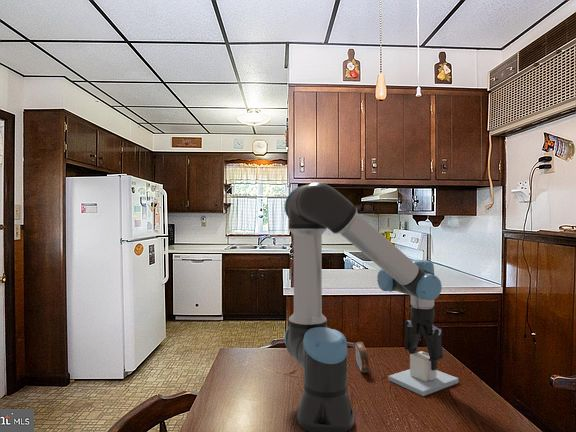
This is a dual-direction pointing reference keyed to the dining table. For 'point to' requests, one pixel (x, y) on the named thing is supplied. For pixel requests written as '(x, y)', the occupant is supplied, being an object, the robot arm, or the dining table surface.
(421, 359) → the cream box with handle
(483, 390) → the dining table surface
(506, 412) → the dining table surface
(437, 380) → the panel
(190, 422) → the dining table surface
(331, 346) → the robot arm
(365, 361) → the tin
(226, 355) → the dining table surface
